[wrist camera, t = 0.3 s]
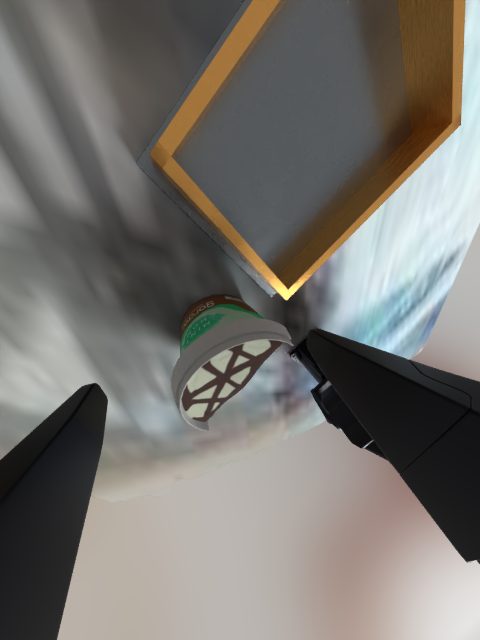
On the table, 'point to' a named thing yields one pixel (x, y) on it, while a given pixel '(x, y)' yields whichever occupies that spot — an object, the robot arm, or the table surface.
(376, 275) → the table surface
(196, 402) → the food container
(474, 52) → the table surface
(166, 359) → the table surface
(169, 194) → the wooden tray
